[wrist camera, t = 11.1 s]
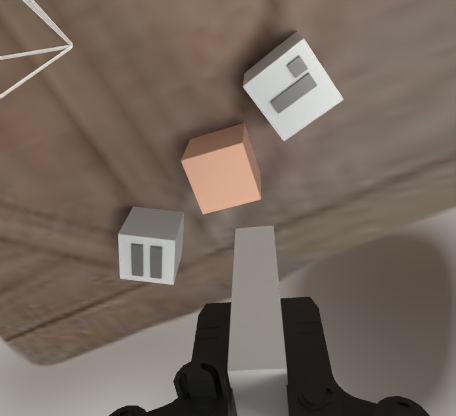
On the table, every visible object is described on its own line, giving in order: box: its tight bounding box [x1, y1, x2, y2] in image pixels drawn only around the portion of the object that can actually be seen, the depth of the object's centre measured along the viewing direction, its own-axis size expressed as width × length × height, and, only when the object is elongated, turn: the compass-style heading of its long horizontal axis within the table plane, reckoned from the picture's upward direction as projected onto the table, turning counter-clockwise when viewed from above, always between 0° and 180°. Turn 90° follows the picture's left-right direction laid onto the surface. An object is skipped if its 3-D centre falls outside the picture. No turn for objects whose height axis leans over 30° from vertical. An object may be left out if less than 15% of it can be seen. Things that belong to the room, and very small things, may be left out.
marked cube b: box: [243, 31, 344, 141], centre depth 29 cm, size 5×5×5 cm
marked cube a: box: [118, 206, 184, 285], centre depth 37 cm, size 5×5×5 cm
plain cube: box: [181, 123, 261, 214], centre depth 33 cm, size 5×5×5 cm
